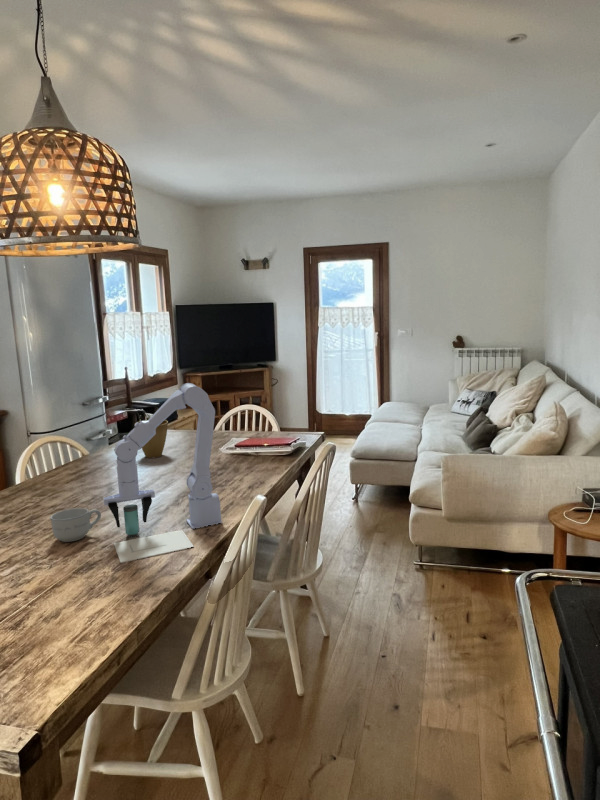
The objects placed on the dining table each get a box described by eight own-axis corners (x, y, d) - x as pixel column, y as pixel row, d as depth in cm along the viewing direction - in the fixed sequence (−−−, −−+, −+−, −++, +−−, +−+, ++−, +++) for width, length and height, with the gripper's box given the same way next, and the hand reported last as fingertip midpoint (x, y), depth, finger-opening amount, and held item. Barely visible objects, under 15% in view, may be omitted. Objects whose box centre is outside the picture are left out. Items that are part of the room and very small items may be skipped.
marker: (138, 531, 171) (136, 503, 169) (141, 536, 167) (138, 507, 166) (124, 534, 169) (122, 505, 168) (126, 539, 165) (124, 510, 164)
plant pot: (131, 459, 257) (128, 425, 254) (148, 451, 271) (146, 418, 268) (159, 460, 252) (156, 426, 250) (176, 452, 266) (173, 419, 264)
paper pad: (182, 530, 170) (182, 529, 170) (193, 547, 158) (193, 546, 158) (113, 544, 162) (113, 543, 162) (120, 563, 150) (120, 561, 150)
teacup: (50, 547, 161) (47, 521, 160) (55, 533, 171) (52, 509, 170) (101, 540, 165) (98, 515, 164) (103, 527, 175) (101, 503, 174)
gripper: (150, 473, 172) (153, 515, 174) (100, 480, 166) (104, 523, 168) (154, 478, 166) (158, 522, 168) (103, 486, 160) (107, 531, 162)
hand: (131, 523), depth 168 cm, fingers open, 7 cm apart
